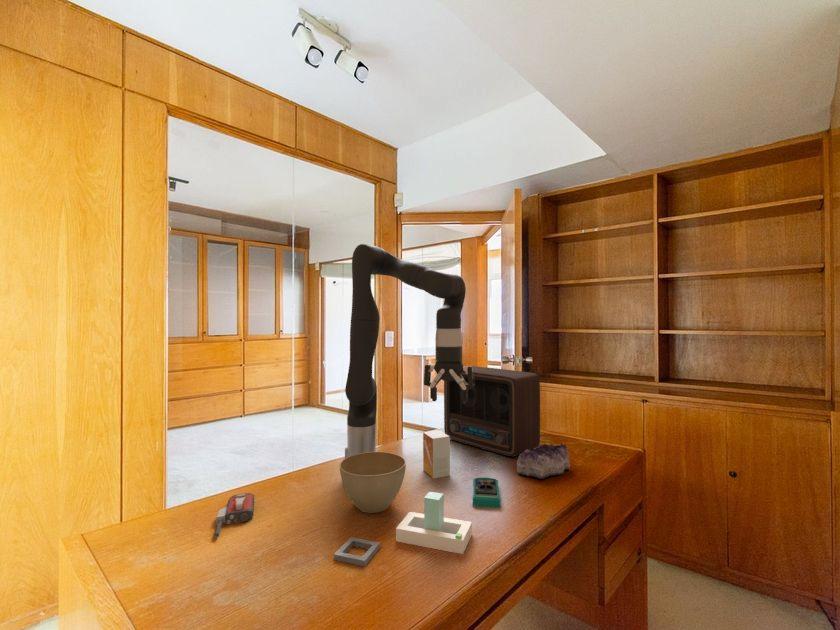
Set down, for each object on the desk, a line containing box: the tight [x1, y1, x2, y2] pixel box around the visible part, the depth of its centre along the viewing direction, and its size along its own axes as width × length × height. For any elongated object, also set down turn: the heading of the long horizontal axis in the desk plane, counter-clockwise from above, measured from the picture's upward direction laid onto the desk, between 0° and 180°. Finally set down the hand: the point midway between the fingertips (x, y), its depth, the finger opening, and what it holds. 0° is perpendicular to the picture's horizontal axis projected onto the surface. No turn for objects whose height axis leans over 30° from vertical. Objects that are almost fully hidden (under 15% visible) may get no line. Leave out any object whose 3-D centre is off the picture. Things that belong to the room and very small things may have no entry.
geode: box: [516, 443, 571, 480], centre depth 141 cm, size 20×12×10 cm, turn 123°
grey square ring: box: [333, 536, 381, 567], centre depth 93 cm, size 7×7×1 cm
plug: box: [423, 491, 445, 532], centre depth 100 cm, size 4×4×10 cm
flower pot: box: [339, 451, 407, 514], centre depth 116 cm, size 18×18×12 cm
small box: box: [422, 429, 451, 479], centre depth 140 cm, size 8×6×13 cm
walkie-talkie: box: [214, 492, 255, 538], centre depth 110 cm, size 9×4×20 cm
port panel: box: [395, 511, 473, 555], centre depth 100 cm, size 16×9×4 cm, turn 70°
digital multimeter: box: [472, 477, 502, 509], centre depth 123 cm, size 8×16×3 cm, turn 172°
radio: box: [443, 365, 541, 458], centre depth 169 cm, size 36×18×30 cm, turn 43°
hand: (449, 401), depth 119 cm, fingers open, 8 cm apart
